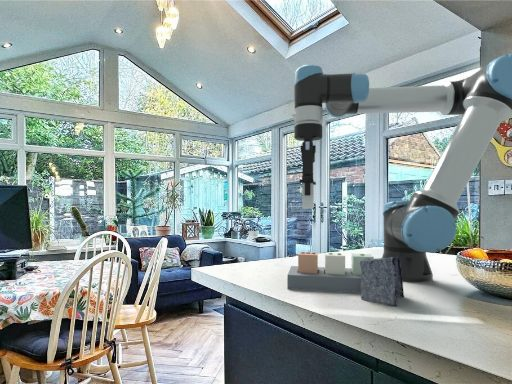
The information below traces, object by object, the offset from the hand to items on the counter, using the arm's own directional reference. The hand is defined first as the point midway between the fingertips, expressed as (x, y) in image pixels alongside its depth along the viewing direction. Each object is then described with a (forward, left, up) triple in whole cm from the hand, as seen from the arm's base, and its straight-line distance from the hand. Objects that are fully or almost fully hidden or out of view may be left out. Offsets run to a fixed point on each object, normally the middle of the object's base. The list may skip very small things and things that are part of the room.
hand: (308, 208), depth 93 cm
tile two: (-7, 0, -17) cm, 19 cm away
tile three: (0, 0, -17) cm, 17 cm away
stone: (-17, +11, -22) cm, 30 cm away
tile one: (-14, 0, -17) cm, 22 cm away
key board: (-7, 0, -21) cm, 23 cm away
